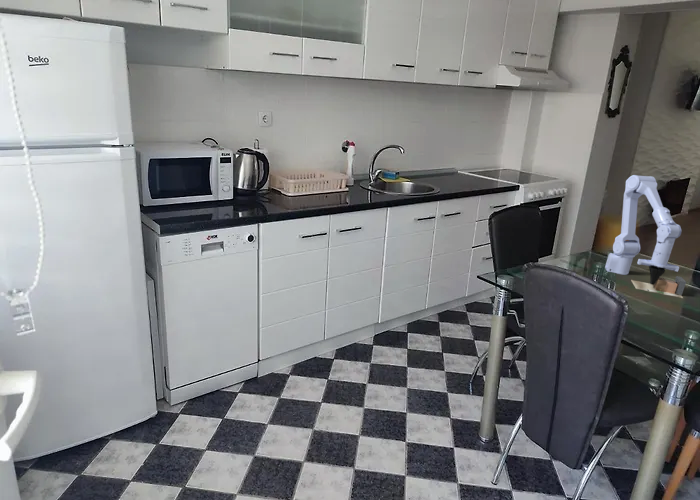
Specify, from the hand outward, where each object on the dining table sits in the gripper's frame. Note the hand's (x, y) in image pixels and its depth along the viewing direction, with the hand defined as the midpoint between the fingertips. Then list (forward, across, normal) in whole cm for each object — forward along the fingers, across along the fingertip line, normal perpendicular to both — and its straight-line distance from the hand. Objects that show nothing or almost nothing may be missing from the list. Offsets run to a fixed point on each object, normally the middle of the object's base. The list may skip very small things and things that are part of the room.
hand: (651, 283), depth 202 cm
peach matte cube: (+2, +6, 0) cm, 7 cm away
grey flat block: (+3, +10, 0) cm, 10 cm away
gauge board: (+3, +2, 0) cm, 3 cm away
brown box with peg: (+1, +3, 0) cm, 3 cm away
